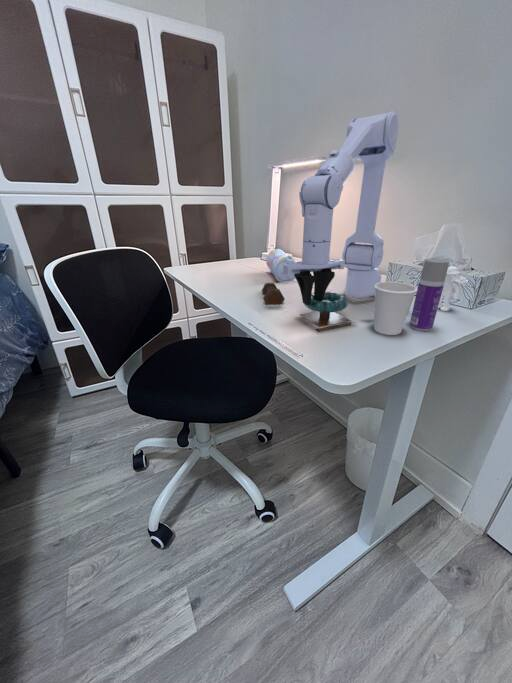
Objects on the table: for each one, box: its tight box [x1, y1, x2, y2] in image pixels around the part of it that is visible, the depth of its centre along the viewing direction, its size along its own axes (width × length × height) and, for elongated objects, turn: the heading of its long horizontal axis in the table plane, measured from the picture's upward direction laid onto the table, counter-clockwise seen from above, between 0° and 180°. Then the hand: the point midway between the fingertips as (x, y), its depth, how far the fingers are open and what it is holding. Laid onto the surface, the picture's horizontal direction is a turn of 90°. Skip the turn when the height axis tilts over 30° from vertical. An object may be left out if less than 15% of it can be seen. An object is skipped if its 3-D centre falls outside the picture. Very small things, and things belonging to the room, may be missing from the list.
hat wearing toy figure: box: [438, 263, 469, 312], centre depth 76 cm, size 9×4×12 cm, turn 20°
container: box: [408, 258, 450, 332], centre depth 63 cm, size 5×5×15 cm
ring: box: [303, 291, 349, 313], centre depth 68 cm, size 10×10×2 cm
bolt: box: [261, 282, 285, 306], centre depth 85 cm, size 6×5×15 cm
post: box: [298, 300, 352, 333], centre depth 69 cm, size 9×9×5 cm
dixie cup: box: [373, 281, 418, 336], centre depth 63 cm, size 8×8×10 cm
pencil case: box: [265, 248, 296, 283], centre depth 111 cm, size 21×9×10 cm, turn 7°
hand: (312, 303), depth 67 cm, fingers closed on ring, 2 cm apart
